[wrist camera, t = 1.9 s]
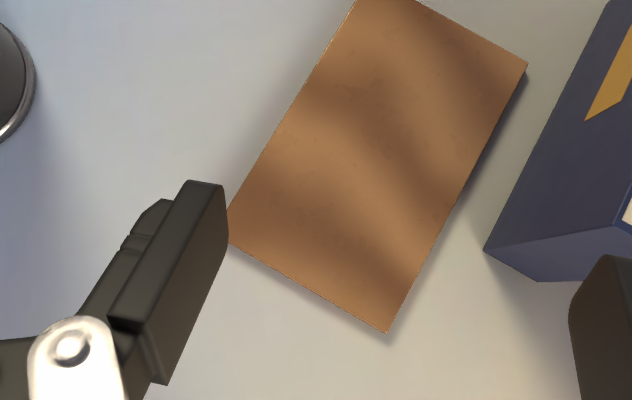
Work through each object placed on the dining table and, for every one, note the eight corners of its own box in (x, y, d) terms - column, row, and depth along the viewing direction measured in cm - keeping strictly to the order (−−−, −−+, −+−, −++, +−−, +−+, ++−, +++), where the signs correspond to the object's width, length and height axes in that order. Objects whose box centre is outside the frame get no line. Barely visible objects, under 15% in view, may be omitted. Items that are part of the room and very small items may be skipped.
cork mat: (383, 333, 31) (386, 334, 30) (214, 234, 31) (212, 232, 30) (523, 67, 34) (529, 62, 33) (369, -18, 35) (371, -25, 34)
